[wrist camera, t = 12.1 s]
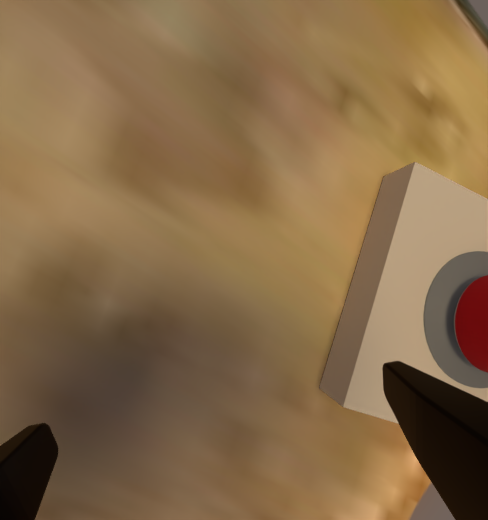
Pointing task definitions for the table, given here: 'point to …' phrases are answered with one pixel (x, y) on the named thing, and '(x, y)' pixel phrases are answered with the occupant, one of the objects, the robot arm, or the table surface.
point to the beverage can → (473, 323)
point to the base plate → (410, 290)
